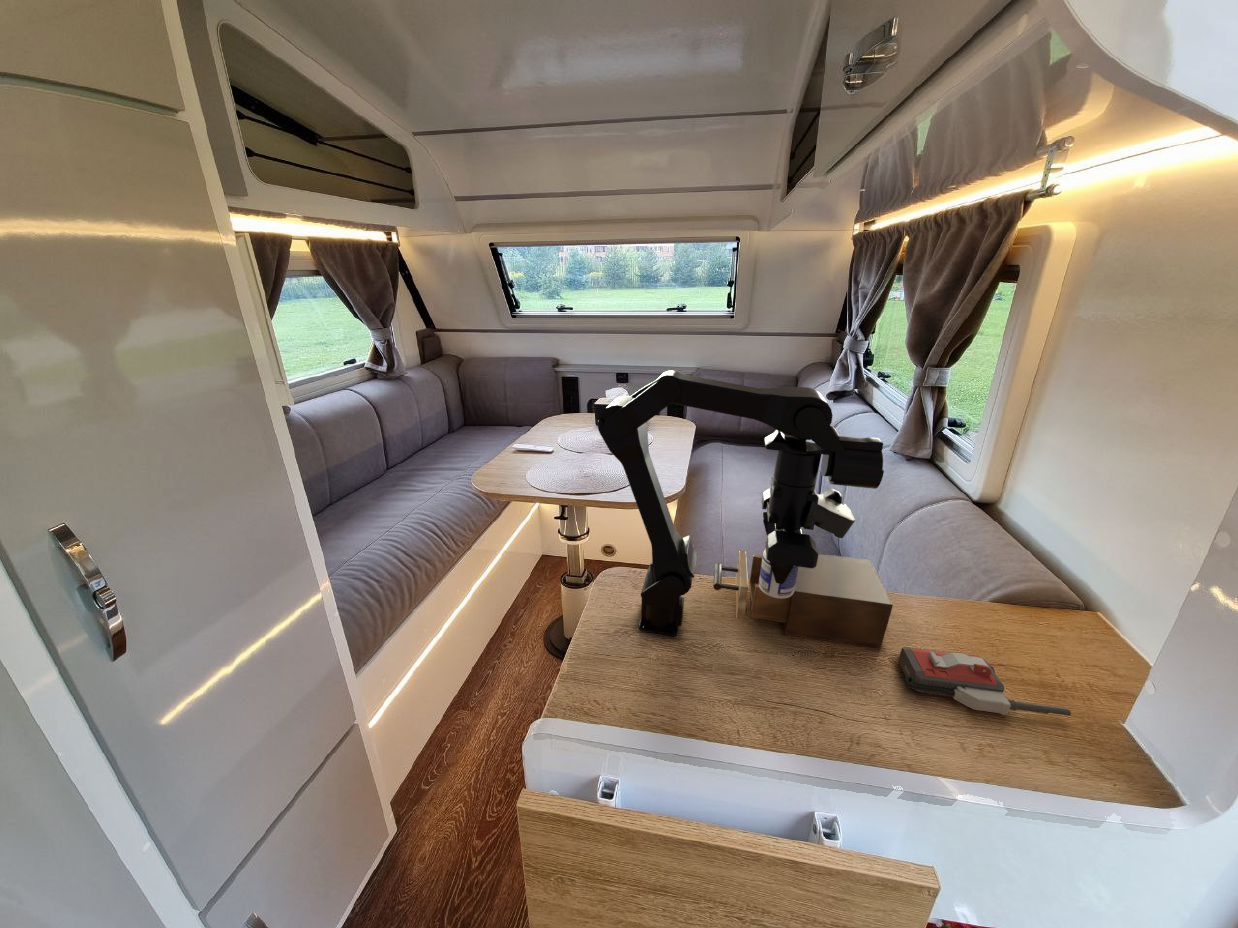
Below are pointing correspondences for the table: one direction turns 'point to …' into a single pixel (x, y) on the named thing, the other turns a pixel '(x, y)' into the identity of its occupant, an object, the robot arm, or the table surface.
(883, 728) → the table surface
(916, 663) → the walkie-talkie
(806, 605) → the cabinet
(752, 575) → the drawer
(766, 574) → the pill bottle
